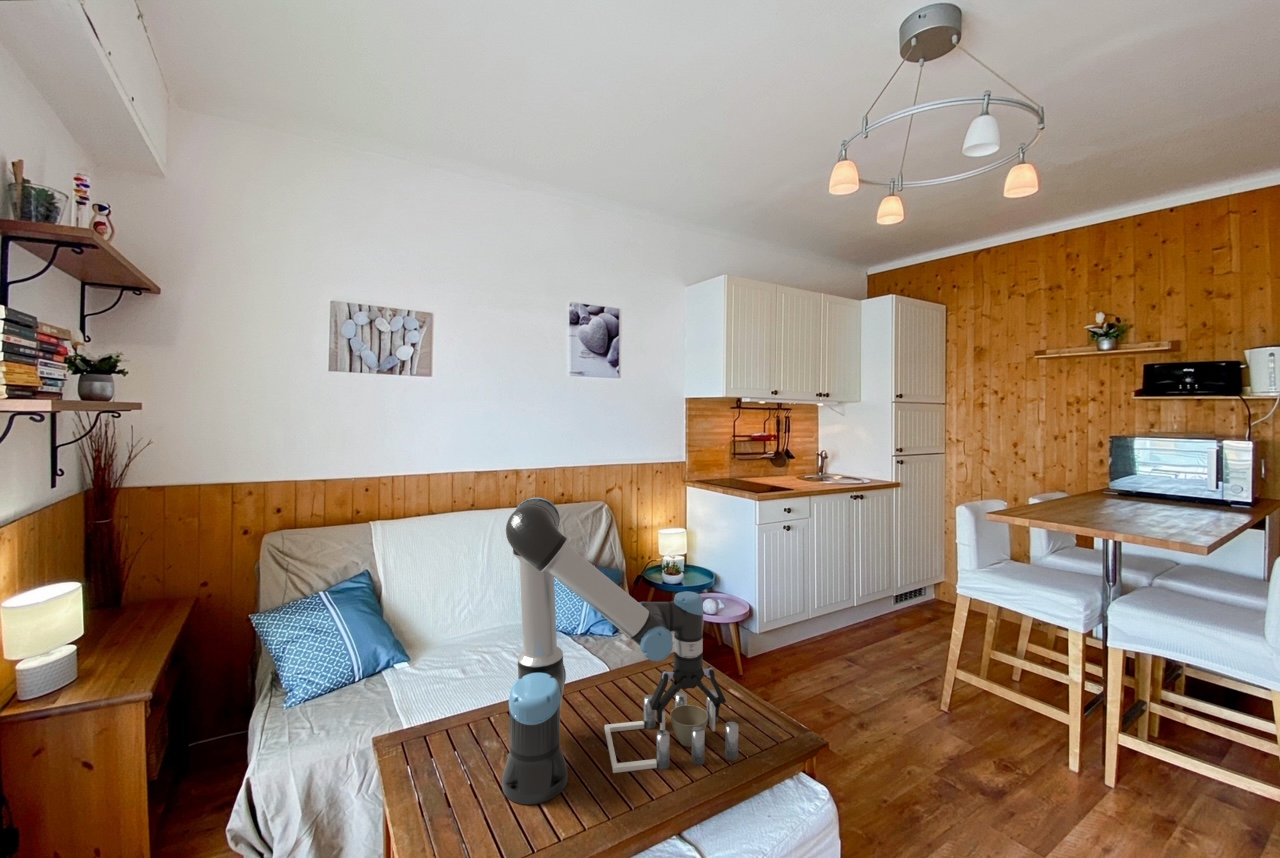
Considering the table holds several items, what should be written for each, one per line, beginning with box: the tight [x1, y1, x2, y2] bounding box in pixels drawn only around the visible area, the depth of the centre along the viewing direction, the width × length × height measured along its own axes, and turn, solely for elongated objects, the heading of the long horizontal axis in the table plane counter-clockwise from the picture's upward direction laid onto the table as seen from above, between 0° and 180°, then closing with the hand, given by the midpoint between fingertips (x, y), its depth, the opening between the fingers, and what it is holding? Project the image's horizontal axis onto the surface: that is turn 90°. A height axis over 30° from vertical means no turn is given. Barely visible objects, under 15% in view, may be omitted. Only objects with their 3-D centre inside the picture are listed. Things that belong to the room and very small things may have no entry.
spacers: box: [643, 689, 739, 771], centre depth 144 cm, size 21×20×8 cm
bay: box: [604, 720, 658, 774], centre depth 141 cm, size 11×18×1 cm, turn 10°
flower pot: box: [669, 704, 708, 748], centre depth 144 cm, size 10×10×7 cm
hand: (687, 731), depth 144 cm, fingers open, 13 cm apart
